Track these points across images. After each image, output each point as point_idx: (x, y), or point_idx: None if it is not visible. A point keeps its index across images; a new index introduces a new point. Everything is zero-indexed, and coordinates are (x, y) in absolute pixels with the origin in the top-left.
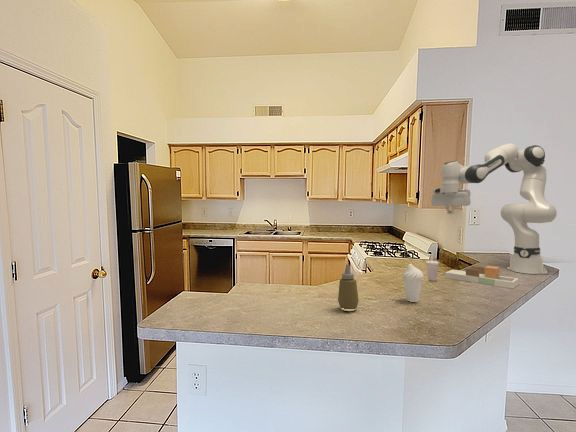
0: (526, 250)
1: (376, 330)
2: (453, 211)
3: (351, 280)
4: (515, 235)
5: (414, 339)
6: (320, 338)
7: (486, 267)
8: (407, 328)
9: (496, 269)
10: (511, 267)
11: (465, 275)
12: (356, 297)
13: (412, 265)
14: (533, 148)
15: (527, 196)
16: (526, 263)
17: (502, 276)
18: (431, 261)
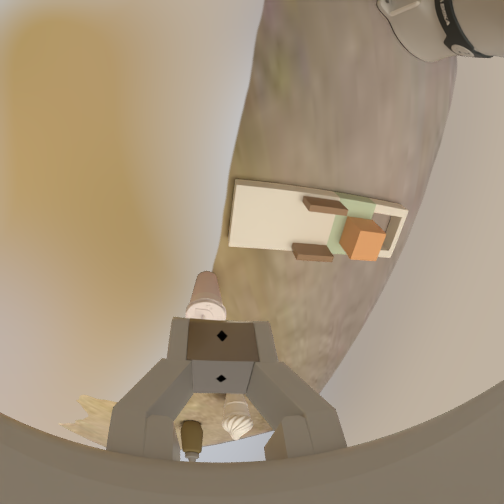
0: (475, 55)
1: None
2: (273, 353)
3: (198, 453)
4: (491, 18)
5: (270, 428)
6: (215, 444)
7: (354, 258)
8: (259, 423)
9: (375, 258)
10: (396, 21)
11: (290, 250)
12: (202, 436)
13: (239, 437)
14: None
15: None
16: (443, 54)
17: (379, 207)
18: (202, 316)
